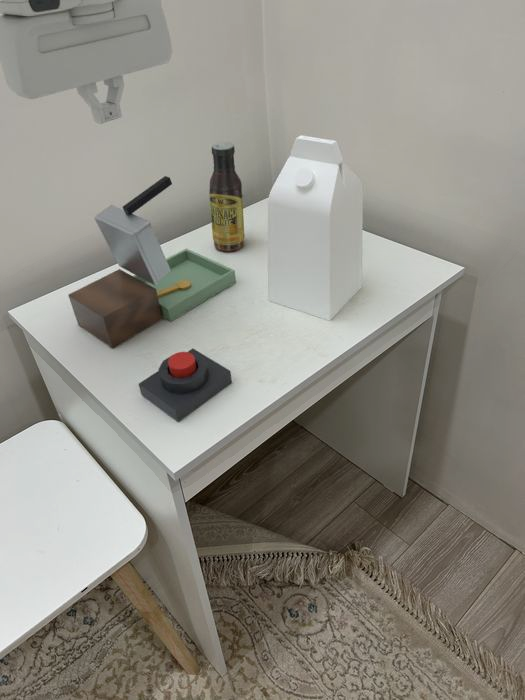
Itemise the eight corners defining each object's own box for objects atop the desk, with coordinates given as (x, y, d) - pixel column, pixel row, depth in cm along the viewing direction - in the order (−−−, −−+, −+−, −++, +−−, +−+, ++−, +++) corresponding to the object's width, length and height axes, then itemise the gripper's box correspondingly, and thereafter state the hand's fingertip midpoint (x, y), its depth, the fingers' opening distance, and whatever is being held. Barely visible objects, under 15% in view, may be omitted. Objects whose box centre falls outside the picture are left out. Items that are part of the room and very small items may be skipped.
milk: (362, 286, 94) (372, 132, 78) (329, 320, 87) (334, 159, 71) (302, 269, 100) (300, 122, 83) (267, 300, 93) (258, 146, 76)
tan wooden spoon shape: (193, 284, 96) (193, 287, 96) (186, 278, 98) (187, 281, 98) (159, 297, 93) (159, 300, 94) (152, 290, 95) (153, 293, 96)
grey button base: (178, 422, 72) (173, 400, 69) (141, 395, 76) (135, 373, 74) (232, 382, 77) (229, 360, 75) (194, 359, 82) (191, 338, 79)
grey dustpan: (128, 228, 78) (188, 183, 83) (90, 210, 83) (148, 169, 88) (155, 285, 86) (208, 242, 91) (119, 266, 92) (170, 226, 96)
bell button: (181, 382, 73) (179, 372, 71) (164, 370, 75) (162, 361, 73) (201, 368, 74) (200, 358, 73) (184, 357, 76) (182, 348, 75)
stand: (112, 348, 85) (103, 317, 81) (78, 324, 90) (67, 294, 87) (162, 319, 90) (156, 288, 86) (127, 298, 96) (119, 268, 92)
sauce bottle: (209, 251, 107) (196, 150, 94) (220, 236, 112) (209, 138, 99) (240, 255, 105) (231, 152, 93) (250, 239, 110) (243, 139, 97)
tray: (170, 321, 90) (168, 309, 88) (123, 294, 97) (120, 282, 95) (236, 282, 98) (234, 270, 96) (188, 259, 105) (186, 248, 104)
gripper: (138, -30, 64) (159, 95, 73) (-30, -5, 53) (19, 138, 62) (172, -29, 61) (190, 102, 70) (0, -3, 50) (47, 149, 59)
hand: (108, 120), depth 66 cm, fingers closed
